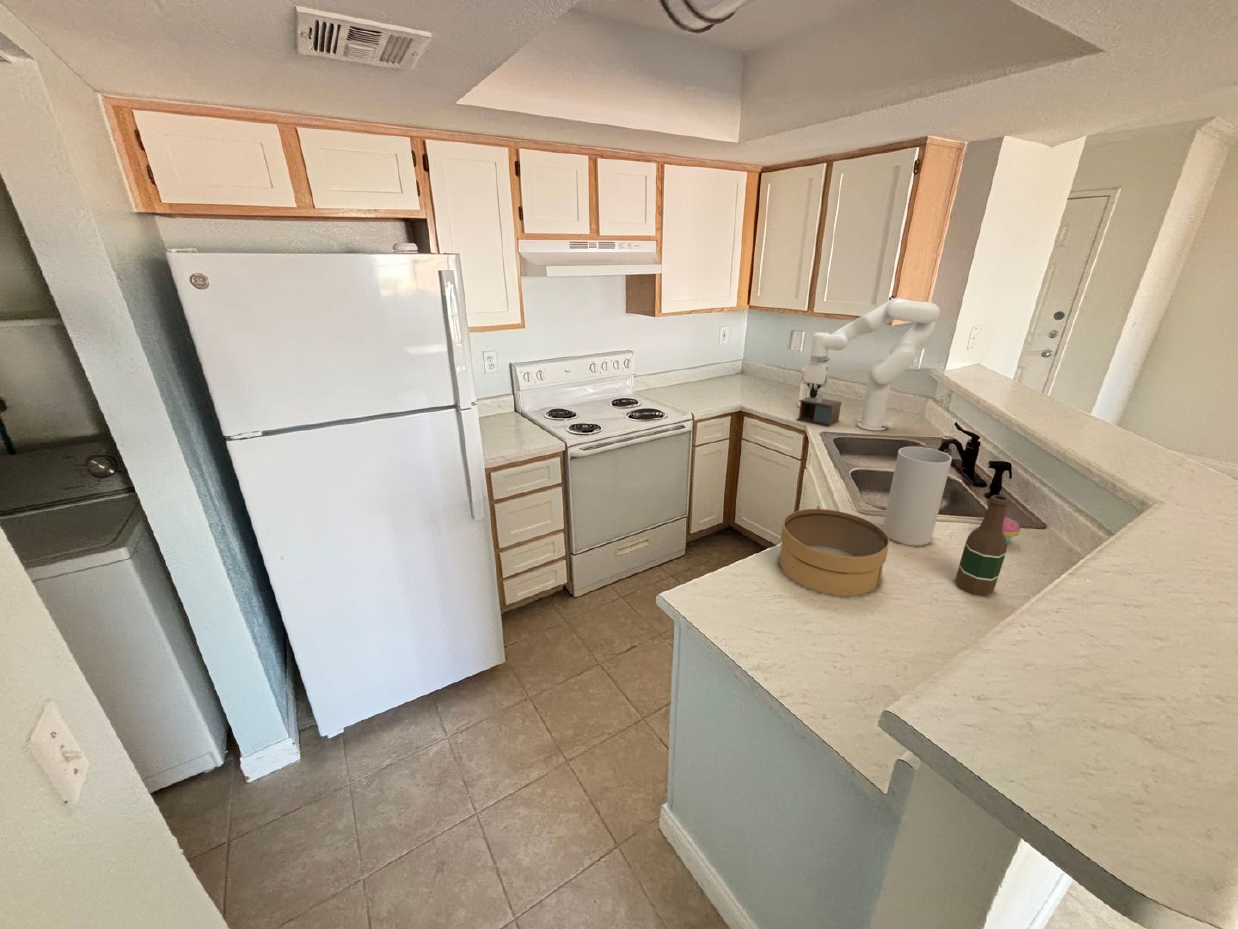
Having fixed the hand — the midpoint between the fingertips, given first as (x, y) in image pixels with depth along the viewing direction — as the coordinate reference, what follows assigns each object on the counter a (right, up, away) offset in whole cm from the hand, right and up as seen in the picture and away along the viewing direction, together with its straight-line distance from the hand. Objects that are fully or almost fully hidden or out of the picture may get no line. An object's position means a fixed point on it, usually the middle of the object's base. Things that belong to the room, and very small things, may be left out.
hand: (812, 397), depth 243 cm
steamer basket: (-40, -60, -114) cm, 135 cm away
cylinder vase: (-12, -53, -99) cm, 113 cm away
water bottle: (+7, -1, +31) cm, 32 cm away
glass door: (+4, -12, 0) cm, 13 cm away
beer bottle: (-8, -63, -122) cm, 137 cm away
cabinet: (+5, -11, +7) cm, 14 cm away
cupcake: (+12, -54, -102) cm, 116 cm away
